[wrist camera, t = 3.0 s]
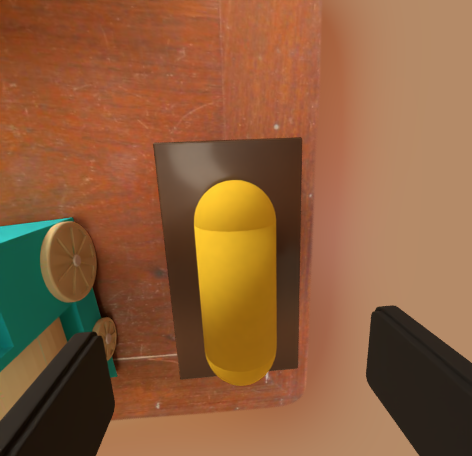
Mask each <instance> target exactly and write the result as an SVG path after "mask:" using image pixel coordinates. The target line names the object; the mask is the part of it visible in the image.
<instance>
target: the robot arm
mask: <svg viewBox="0 0 472 456" xmlns="http://www.w3.org/2000/svg"><path fill="white" fill-rule="evenodd" d="M366 377H367V381H368V384H369V386H370V387H371V389H372V390H373V391H374V393H375V394H376V396H377V397H378V398H379V400H380V401H381V403H382V404H383V405H384V407H385V408H386V409H387V411H388V412H389V414H390V415H391V417H392V418H393V419H394V420H395V422H396V423H397V425H398V426H399V428H400V429H401V430H402V432H403V433H404V435H405V436H406V438H407V439H408V440H409V442H410V443H411V445H412V446H413V447H414V449H415V450H416V452H417V453H418V454H419V456H472V363H471V362H470V361H468V360H467V359H466V358H464V357H463V356H462V355H460V354H459V353H458V352H456V351H455V350H454V349H452V348H451V347H450V346H448V345H447V344H446V343H445V342H443V341H442V340H441V339H439V338H438V337H437V336H435V335H434V334H433V333H431V332H430V331H429V330H427V329H426V328H425V327H423V326H422V325H421V324H419V323H418V322H416V321H415V320H414V319H413V318H411V317H410V316H409V315H407V314H406V313H405V312H403V311H402V310H401V309H399V308H398V307H396V306H382V307H377V308H376V310H375V311H374V312H372V315H371V325H370V336H369V348H368V358H367V369H366ZM114 407H115V400H114V395H113V390H112V384H111V379H110V374H109V368H108V363H107V358H106V353H105V347H104V342H103V338H102V336H98V335H97V333H96V332H82V333H76V334H74V335H73V336H72V337H71V338H70V340H69V341H68V342H67V343H66V344H65V345H64V347H63V348H62V349H61V350H60V351H59V352H58V354H57V355H56V356H55V357H54V358H53V360H52V361H51V362H50V363H49V364H48V365H47V367H46V368H45V369H44V370H43V371H42V372H41V374H40V375H39V376H38V377H37V378H36V380H35V381H34V382H33V383H32V384H31V385H30V387H29V388H28V389H27V390H26V391H25V392H24V394H23V395H22V396H21V397H20V398H19V399H18V401H17V402H16V403H15V404H14V405H13V407H12V408H11V409H10V410H9V411H8V412H7V414H6V415H5V416H4V417H3V418H2V419H1V421H0V456H96V454H97V452H98V449H99V447H100V444H101V442H102V439H103V437H104V434H105V432H106V430H107V427H108V425H109V423H110V420H111V418H112V415H113V412H114Z"/></svg>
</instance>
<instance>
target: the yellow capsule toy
mask: <svg viewBox="0 0 472 456" xmlns="http://www.w3.org/2000/svg"><path fill="white" fill-rule="evenodd" d="M194 230H195V242H196V254H197V266H198V278H199V289H200V301H201V313H202V325H203V337H204V348H205V354H206V359H207V361H208V364H209V366H210V368H211V369H212V371H213V372H214V373H215V374H216V375H217V376H218V377H219V378H220V379H221V380H223V381H225V382H227V383H229V384H232V385H237V386H245V385H250V384H252V383H255V382H257V381H258V380H260V379H262V378H263V377H264V376H265V375H266V374H267V372H268V371H269V370H270V368H271V367H272V364H273V362H274V359H275V357H276V349H277V299H276V215H275V210H274V207H273V204H272V203H271V201H270V199H269V197H268V196H267V195H266V194H265V193H264V192H263V191H262V190H261V189H260V188H259V187H257V186H256V185H253V184H251V183H249V182H246V181H242V180H229V181H224V182H221V183H218V184H216V185H215V186H213V187H211V188H210V189H209V190H208V191H207V192H206V193H205V194H204V195H203V196H202V197H201V199H200V200H199V202H198V205H197V207H196V210H195V215H194Z"/></svg>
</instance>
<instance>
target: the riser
mask: <svg viewBox="0 0 472 456" xmlns="http://www.w3.org/2000/svg"><path fill="white" fill-rule="evenodd" d="M153 147H154V156H155V165H156V173H157V182H158V191H159V199H160V208H161V217H162V225H163V234H164V243H165V251H166V260H167V269H168V277H169V286H170V295H171V303H172V312H173V321H174V329H175V338H176V347H177V355H178V364H179V373H180V379H192V378H202V377H213V376H217V375H216V374H215V373H214V372H213V371H212V369H211V368H210V366H209V364H208V361H207V359H206V354H205V348H204V337H203V325H202V313H201V301H200V289H199V278H198V266H197V254H196V242H195V230H194V215H195V210H196V207H197V205H198V202H199V200H200V199H201V197H202V196H203V195H204V194H205V193H206V192H207V191H208V190H209V189H210V188H211V187H213V186H215V185H216V184H218V183H221V182H224V181H229V180H242V181H246V182H249V183H251V184H253V185H256V186H257V187H259V188H260V189H261V190H262V191H263V192H264V193H265V194H266V195H267V196H268V197H269V199H270V201H271V203H272V204H273V207H274V210H275V215H276V299H277V349H276V357H275V359H274V362H273V364H272V367H271V368H270V370H269V371H276V370H286V369H297V368H298V339H299V286H300V233H301V180H302V138H301V137H296V138H269V139H242V140H216V141H189V142H163V143H154V144H153Z"/></svg>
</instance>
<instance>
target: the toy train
mask: <svg viewBox="0 0 472 456" xmlns="http://www.w3.org/2000/svg"><path fill="white" fill-rule="evenodd" d="M96 269H97V260H96V253H95V248H94V245H93V242H92V240H91V238H90V236H89V234H88V233H87V231H86V230H85V229H84V228H83V227H82V226H81V225H79V224H78V223H75V222H74V219H73V217H72V218H64V219H56V220H48V221H40V222H32V223H25V224H17V225H9V226H1V227H0V421H1V419H2V418H3V417H4V416H5V415H6V414H7V412H8V411H9V410H10V409H11V408H12V407H13V405H14V404H15V403H16V402H17V401H18V399H19V398H20V397H21V396H22V395H23V394H24V392H25V391H26V390H27V389H28V388H29V387H30V385H31V384H32V383H33V382H34V381H35V380H36V378H37V377H38V376H39V375H40V374H41V372H42V371H43V370H44V369H45V368H46V367H47V365H48V364H49V363H50V362H51V361H52V360H53V358H54V357H55V356H56V355H57V354H58V352H59V351H60V350H61V349H62V348H63V347H64V345H65V344H66V343H67V342H68V341H69V340H70V338H71V337H72V336H73V335H74V334H76V333H82V332H96V333H97V335H98V336H102V338H103V342H104V347H105V353H106V358H107V363H108V368H109V374H110V378H111V377H117V373H116V369H115V366H114V362H113V358H112V355H113V353H114V350H115V346H116V339H117V334H116V327H115V324H114V322H113V320H112V319H111V318H109V317H105V318H101V316H100V312H99V308H98V305H97V301H96V298H95V294H94V290H93V287H92V286H93V284H94V281H95V277H96Z"/></svg>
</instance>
